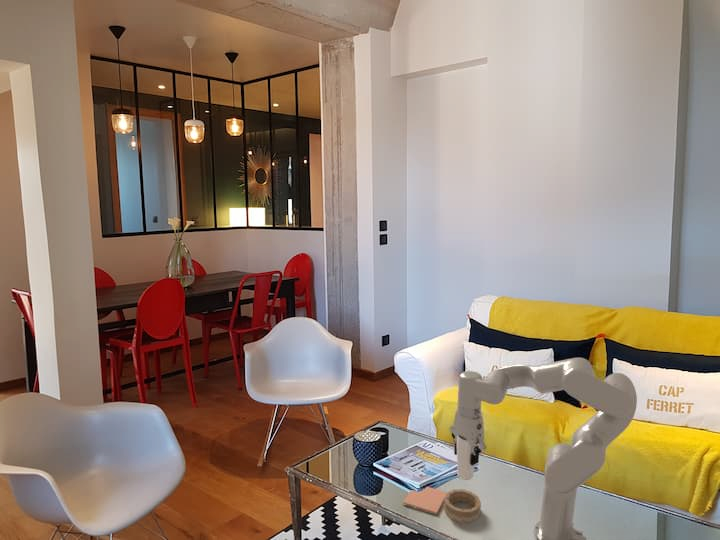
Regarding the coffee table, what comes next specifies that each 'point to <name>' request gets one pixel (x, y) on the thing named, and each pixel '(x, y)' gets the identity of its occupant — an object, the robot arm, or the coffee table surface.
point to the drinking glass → (464, 459)
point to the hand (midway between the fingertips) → (466, 458)
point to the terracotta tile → (426, 499)
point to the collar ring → (460, 514)
